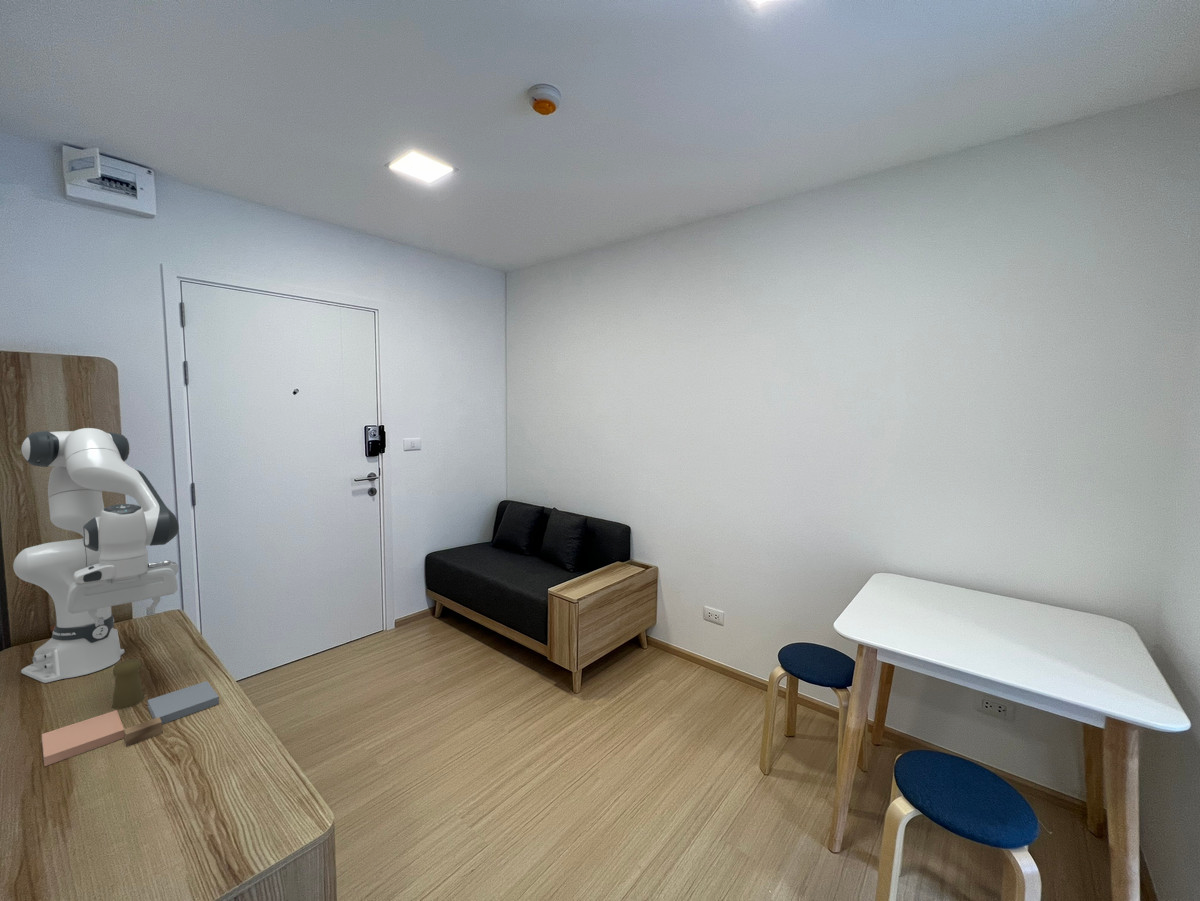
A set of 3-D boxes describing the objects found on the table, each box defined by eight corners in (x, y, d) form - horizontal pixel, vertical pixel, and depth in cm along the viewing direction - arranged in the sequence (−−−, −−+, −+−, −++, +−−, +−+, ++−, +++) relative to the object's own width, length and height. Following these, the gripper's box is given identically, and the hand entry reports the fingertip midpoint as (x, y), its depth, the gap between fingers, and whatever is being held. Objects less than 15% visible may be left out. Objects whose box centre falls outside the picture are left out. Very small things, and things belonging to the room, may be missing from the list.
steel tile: (147, 707, 120) (147, 700, 120) (207, 687, 130) (207, 680, 130) (156, 726, 113) (156, 718, 113) (218, 704, 122) (218, 696, 122)
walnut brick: (126, 747, 106) (125, 734, 106) (124, 741, 108) (123, 729, 107) (162, 734, 110) (161, 721, 110) (159, 729, 112) (159, 716, 112)
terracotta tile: (42, 742, 107) (41, 734, 106) (117, 717, 116) (116, 709, 116) (44, 766, 99) (44, 757, 99) (124, 737, 109) (124, 729, 108)
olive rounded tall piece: (123, 710, 119) (122, 668, 118) (105, 707, 120) (103, 666, 120) (150, 697, 125) (149, 657, 124) (132, 694, 126) (131, 655, 126)
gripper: (175, 557, 131) (176, 605, 132) (64, 573, 115) (66, 628, 116) (180, 561, 127) (181, 610, 128) (66, 579, 111) (68, 635, 112)
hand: (125, 619), depth 121 cm, fingers open, 8 cm apart
